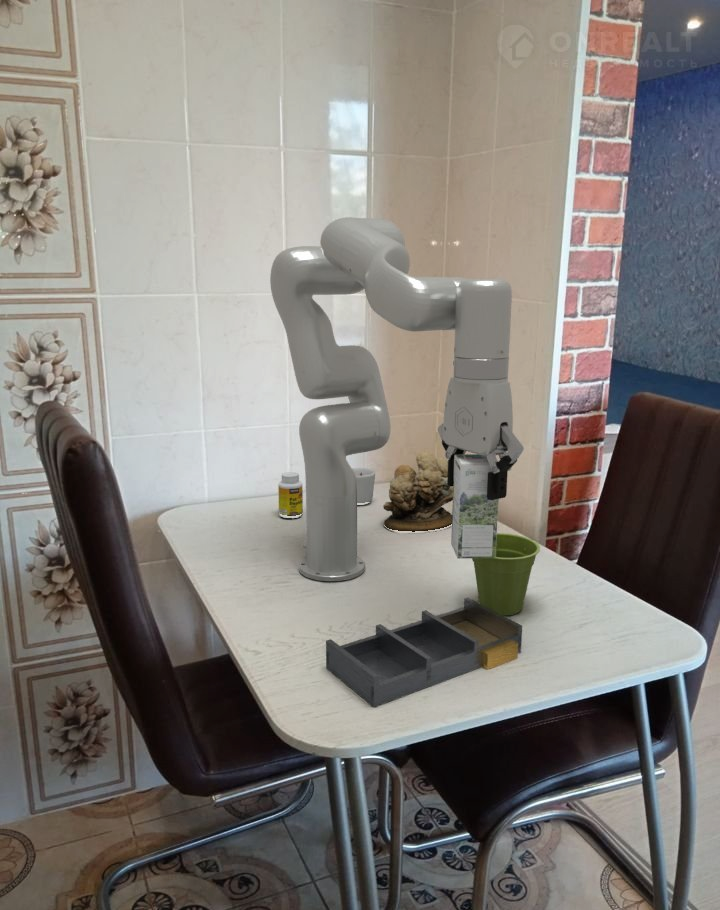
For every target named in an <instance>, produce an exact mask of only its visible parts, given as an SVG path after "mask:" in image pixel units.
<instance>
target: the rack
mask: <svg viewBox="0 0 720 910" xmlns="http://www.w3.org/2000/svg"><path fill="white" fill-rule="evenodd" d="M522 636H523V625H522V624H521V623H518V622H516V621H514V620H513V619H510V618H508V617H507V616H506V615H501V614H499V613H497V612H495V611H493V610H491V609H489V608H487V607H485V606H484V605H482V604H480V603H479V601H476V600H474V599H472V598H470V597H464V598H463V607H461V608H460V607H459V608H457V609H456V608H455V609H454V610H451V611H450V610H449V611H447V612H444V613H441V614H438V615H435V614H433V613H432V612H429V611H428V610H426V609H425V610H422V611H421V620H419V621H415V622H411V623H409V624H405V625H403V626H399V627H396V628H393V629H389V628H388V627H385V626H384V625H383V624H376V625H375V634H373V635H370V636H367V637H364V638H361V639H358V640H354V641H351V642H347V643H345V644H342V645H339V644H338V643H336V642H335V641H334V640H333V639H331V638H329V639H326V640H325V664H326V665H325V666H326V667H325V668H326V669H327V670H328V671H329V672H330V673H332V674H333V676H335V677H336V678H338V679H339V680H340V681H341V682H343V683H344V684H345V685H346V686H347V687H348V688H350V689H351V690H352V691H353V692H354V693H356V694H357V695H358V696H359V697H360V698H361V699H363V700H364V701H365V702H367V703H368V704H369V705H370V706H372V707H373V708H376V707H380V706H382V705H385V704H387V703H390V702H392V701H395V700H398V699H400V698H403V697H406V696H408V695H412V694H414V693H416V692H419V691H422V690H424V689H427V688H429V687H432V686H435V685H438V684H440V683H442V682H445V681H447V680H451V679H454V678H456V677H458V676H459V677H460V676H461V675H464V674H467V673H470V672H471V671H475V670H477V669H480V668H483V669H486V670H490V669H492V668H496V667H498V666H501V665H503V664H506V663H508V662H511V661H513V660H516V659H518V658H519V656H518V654H520V653H522V640H523V639H522Z"/></svg>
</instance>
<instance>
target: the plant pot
mask: <svg viewBox="0 0 720 910" xmlns="http://www.w3.org/2000/svg"><path fill="white" fill-rule="evenodd" d="M540 552H541V547H540V544H539V543H538V542H537V541H535V540H533V539H532V538H529V537H527V536H524V535H523V536H522V535H518V534H514V533H509V532H508V533H506V532H497V539H496V557H495V558H471V560H472V562H473V566H474V567H473V568H474V573H475V575H474V576H475V582H476V589H477V597H478V603H480V604H482V605H484V606H485V607H487V608H489V609H491V610H493V611H495V612H497V613H499V614H501V615H503V616H506V617H507V616H513V615H516V614H517V613H518V612H521V611H522V610H523V608H524V602H525V598H526V594H527V591H528V586H529V580H530V577H531V573H532V569H533V566H534V564H535V561H536V557H537V555H538V554H539V553H540Z"/></svg>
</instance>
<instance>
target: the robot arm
mask: <svg viewBox="0 0 720 910" xmlns="http://www.w3.org/2000/svg"><path fill="white" fill-rule="evenodd" d="M319 241H320V243H319V244H320V245H319V246H314V245H313V246H312V245H311V246H310V245H305V246H304V245H301V246H294V247H289V248H286V249H284V250H282V251H280V252H279V253H278V254H277V255H276V256H275V258H274V260H273V262H272V265H271V269H270V276H269V277H270V279H269V283H270V291H271V296H272V300H273V302H274V303H273V304H274V306H275V308H276V310H277V312H278V315H279V317H280V319H281V321H282V324H283V326H284V329H285V333H286V337H287V344H288V348H289V353H290V357H291V362H292V366H293V371H294V376H295V380H296V383H297V386H298V389H299V392H300V393H301V394H302V396H303V397H305V398H307V399H309V400H327V399H335V398H345V397H347V399H348V400H349V401H348V402H347V403H345V402H344V403H342V402H341V403H336V404H335V403H334V404H328V405H321V406H317V407H315V408H312V409H310V410H309V411H307V412H305V414H304V415H303V416H302V418H301V420H300V422H299V432H298V433H299V439H300V443H301V449H302V455H303V462H304V472H305V477H304V478H305V507H306V508H305V511H306V515H305V516H306V517H305V518H306V520H305V521H306V540H304V541H303V542H302V547H303V548H304V549H305V550H306V556H305V557H303V558H302V559H301V560H300V561H299V563H298V570H299V572H300V573H301V575H302V574H303V575H302V576H304V577H305V578H309V579H310V580H314V581H320V582H342V581H347V580H352V579H355V578H357V577H359V576H361V575H362V574H363V573H364V572H365V570H366V562H365V560H364V559H363V558H361V557H360V556H358V506H357V480H356V476H355V473H354V471H353V470H352V466H351V465H350V464H349V461H348V460H347V456H351V455H356V454H362V453H367V452H372V451H378V450H380V449H382V448H383V447H384V446H386V444H387V443H388V442H389V439H390V436H391V419H390V414H389V409H388V405H387V404H388V403H387V398H386V396H385V390H384V385H383V381H382V376H381V372H380V368H379V365H378V362H377V361H376V359H375V356H374V355H373V353H372V352H371V351H370V350H368V349H367V348H366V347H364V346H360V345H355V344H354V345H351V344H350V345H339V344H337V341H336V338H335V334H334V330H333V326H332V325H333V324H332V323H331V322H332V321H331V320H330V318H329V316H328V315H327V313H326V312H325V311H324V309H323V308H322V306H321V305H320V304H318V303H317V301H315V300H314V298H313V296H315V295H316V296H319V295H322V296H330V295H331V296H337V295H339V296H340V295H341V296H342V295H344V296H345V295H346V296H347V295H354V294H357V293H360V292H361V291H364V292H365V297H366V299H367V302H368V305H369V307H370V308H371V309H372V311H373V312H374V313H375V314H377V315H378V316H380V317H381V318H383V319H384V320H386V321H387V322H388V323H390V325H393V326H395V327H397V328H399V329H400V330H404V331H408V332H429V331H431V332H432V331H454V346H453V347H454V348H453V349H454V350H453V362H452V366H453V377H450V379H449V382H448V385H447V390H446V397H445V402H444V409H443V410H444V412H443V423H442V424H440V425H439V426H438V427H437V431H438V434H439V437H440V440H441V445H442V447H443V449H444V451H445V453H444V456H445V458H446V460H447V461H448V479H447V484H448V486H450V487H453V480H454V456H455V454H466V452H468V453H471V454H479V455H486V456H487V459H488V462H489V465H490V467H491V470H492V472H488V480H487V499H488V500H496V499H499V500H501V499H503V498H506V497H507V492H508V491H507V489H508V474H509V473H508V472H510V471H511V470H512V467H513V466H514V465H515V464H516V463H517V462H518V459H519V457H520V456H521V455H522V453H523V451H524V449H525V448H524V446H523V444H522V443H521V441H519V440H520V439H518V438H517V436H516V435H515V434H514V432H513V430H514V429H513V425H514V422H513V421H514V420H513V419H514V417H513V397H512V391H511V389H512V388H511V382H510V381H509V367H510V366H509V363H510V357H509V356H510V345H511V344H510V340H511V323H512V320H511V319H512V318H511V317H512V298H513V295H512V293H513V290H512V285H511V284H510V282H508V280H505V279H501V278H468V277H460V276H411V275H409V274H408V273H409V271H410V265H411V260H410V254H409V252H408V250H407V248H406V244H405V238H404V235H403V233H402V230H401V229H400V228H399V226H397V224H396V223H394V222H392V221H390V220H387V219H384V218H383V219H381V218H370V217H369V218H367V217H366V218H365V217H353V216H352V217H342V218H341V217H340V218H338V219H335V220H333V221H331V222H330V223H329V224H328V225H326V226H325V228H324V229H323V231H322V233H321V236H320V240H319ZM497 456H498V457H499V460H498V458H497ZM497 460H498V461H497Z"/></svg>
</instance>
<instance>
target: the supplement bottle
mask: <svg viewBox="0 0 720 910" xmlns="http://www.w3.org/2000/svg"><path fill="white" fill-rule="evenodd" d="M299 474H300V473H298V472H297V471H287V472H283V473H281V481H279V482H278V486H277V487H278V488H277V489H278V514H279V513H280V514H282V515H287V516H296V515H300V514H302V513H304V509H303V508H304V506H303V504H304V503H303V502H304V501H303V500H304V499H303V482H302V481H300V475H299ZM302 515H303V514H302Z"/></svg>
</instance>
